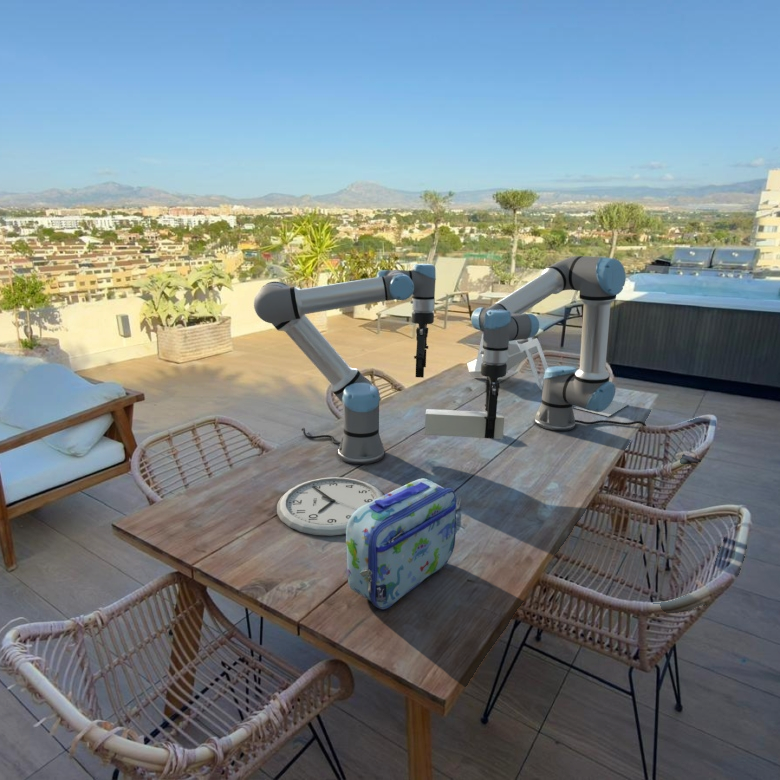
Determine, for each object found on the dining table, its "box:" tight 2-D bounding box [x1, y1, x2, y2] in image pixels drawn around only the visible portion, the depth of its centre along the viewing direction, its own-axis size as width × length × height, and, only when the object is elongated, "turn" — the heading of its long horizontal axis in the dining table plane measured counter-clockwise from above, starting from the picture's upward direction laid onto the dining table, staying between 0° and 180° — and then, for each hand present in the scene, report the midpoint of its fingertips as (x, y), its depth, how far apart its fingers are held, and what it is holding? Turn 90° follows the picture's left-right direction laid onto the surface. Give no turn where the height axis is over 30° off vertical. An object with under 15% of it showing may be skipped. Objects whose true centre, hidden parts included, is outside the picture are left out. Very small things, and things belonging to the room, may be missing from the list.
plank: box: [424, 408, 505, 440], centre depth 163 cm, size 24×4×7 cm, turn 83°
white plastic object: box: [466, 312, 549, 391], centre depth 258 cm, size 37×45×31 cm
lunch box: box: [345, 477, 457, 610], centre depth 110 cm, size 26×11×21 cm, turn 134°
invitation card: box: [573, 400, 628, 418], centre depth 226 cm, size 21×1×15 cm
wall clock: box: [276, 476, 385, 537], centre depth 143 cm, size 30×2×30 cm
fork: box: [456, 495, 462, 511], centre depth 138 cm, size 3×16×2 cm, turn 160°
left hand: (420, 371), depth 183 cm, fingers open, 13 cm apart
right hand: (488, 434), depth 163 cm, fingers closed on plank, 4 cm apart
